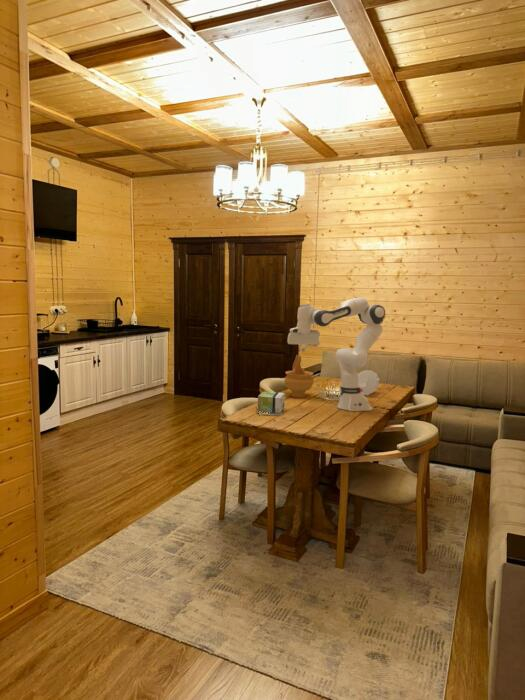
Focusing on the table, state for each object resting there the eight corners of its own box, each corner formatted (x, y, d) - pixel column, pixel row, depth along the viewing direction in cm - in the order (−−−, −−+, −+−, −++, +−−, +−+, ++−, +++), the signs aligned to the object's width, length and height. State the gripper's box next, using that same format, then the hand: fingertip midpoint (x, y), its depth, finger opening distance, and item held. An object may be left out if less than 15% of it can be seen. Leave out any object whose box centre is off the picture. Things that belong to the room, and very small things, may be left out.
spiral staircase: (373, 396, 373) (368, 401, 350) (353, 384, 378) (347, 388, 355) (385, 376, 369) (380, 379, 346) (364, 364, 374) (359, 367, 351)
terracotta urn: (317, 398, 340) (319, 356, 337) (288, 399, 335) (290, 357, 332) (307, 392, 361) (308, 353, 357) (280, 393, 356) (281, 353, 352)
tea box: (281, 397, 293) (257, 396, 296) (280, 413, 294) (257, 411, 297) (284, 392, 308) (262, 391, 310) (284, 407, 309) (261, 406, 312)
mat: (279, 407, 310) (279, 407, 310) (282, 415, 290) (282, 415, 290) (256, 407, 309) (256, 407, 309) (258, 415, 289) (258, 415, 289)
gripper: (318, 329, 309) (318, 351, 311) (287, 329, 307) (286, 350, 309) (320, 330, 303) (319, 352, 304) (288, 329, 301) (287, 351, 303)
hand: (302, 351), depth 307 cm, fingers closed
